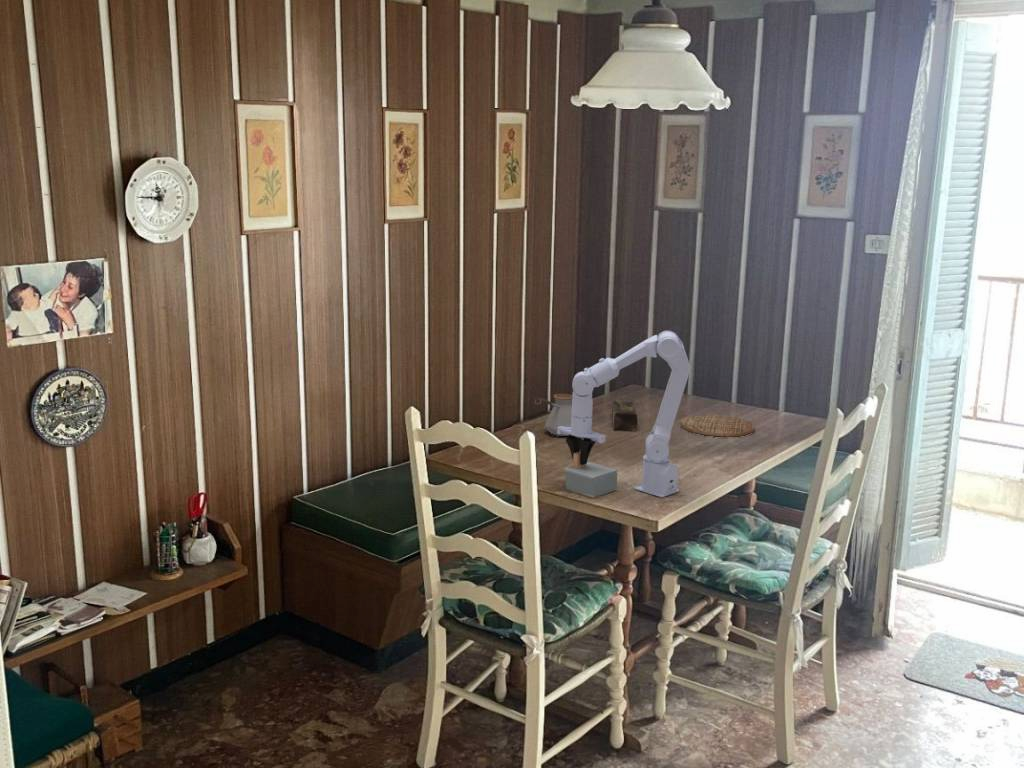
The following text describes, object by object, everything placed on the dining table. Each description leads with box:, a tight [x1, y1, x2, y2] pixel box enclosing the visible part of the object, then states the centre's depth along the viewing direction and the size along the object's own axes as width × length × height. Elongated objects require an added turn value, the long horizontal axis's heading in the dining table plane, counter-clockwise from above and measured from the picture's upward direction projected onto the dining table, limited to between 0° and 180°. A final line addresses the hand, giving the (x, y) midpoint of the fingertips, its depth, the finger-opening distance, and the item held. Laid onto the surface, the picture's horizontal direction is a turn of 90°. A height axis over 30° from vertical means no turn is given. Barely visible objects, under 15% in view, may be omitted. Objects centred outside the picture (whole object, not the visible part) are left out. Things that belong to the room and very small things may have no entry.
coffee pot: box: [534, 393, 573, 437], centre depth 329 cm, size 21×12×15 cm, turn 145°
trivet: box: [679, 414, 756, 438], centre depth 346 cm, size 25×25×2 cm
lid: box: [563, 451, 618, 480], centre depth 278 cm, size 10×10×5 cm
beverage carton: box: [611, 400, 638, 432], centre depth 348 cm, size 8×19×7 cm, turn 176°
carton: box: [564, 472, 618, 499], centre depth 278 cm, size 10×10×5 cm
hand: (579, 463), depth 280 cm, fingers closed on lid, 2 cm apart
